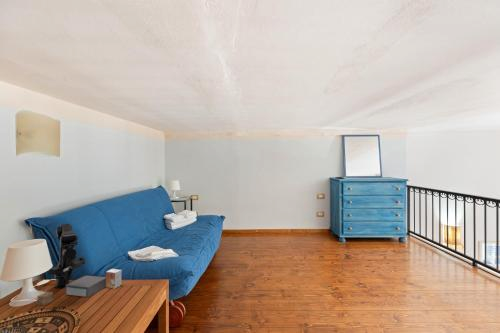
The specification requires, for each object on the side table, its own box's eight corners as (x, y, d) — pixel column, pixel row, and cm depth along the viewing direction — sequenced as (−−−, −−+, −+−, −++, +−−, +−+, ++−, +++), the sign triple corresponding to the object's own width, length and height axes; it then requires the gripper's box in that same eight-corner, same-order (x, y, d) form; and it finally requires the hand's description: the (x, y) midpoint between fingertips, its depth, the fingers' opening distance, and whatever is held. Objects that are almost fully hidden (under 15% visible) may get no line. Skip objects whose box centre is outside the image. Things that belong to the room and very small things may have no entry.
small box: (105, 287, 160) (105, 271, 160) (112, 283, 165) (112, 268, 165) (114, 288, 157) (115, 272, 158) (121, 285, 163) (121, 269, 163)
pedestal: (37, 304, 138) (37, 295, 138) (45, 300, 143) (46, 291, 143) (44, 305, 137) (44, 296, 137) (52, 301, 142) (52, 292, 142)
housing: (65, 294, 150) (65, 284, 150) (85, 284, 164) (85, 275, 164) (88, 297, 147) (88, 287, 147) (106, 286, 161) (106, 277, 161)
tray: (66, 294, 149) (66, 287, 149) (85, 284, 163) (85, 278, 163) (85, 296, 146) (85, 289, 147) (103, 286, 160) (103, 279, 160)
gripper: (64, 260, 132) (63, 289, 132) (92, 250, 151) (91, 275, 150) (47, 259, 135) (47, 287, 134) (77, 249, 153) (77, 274, 152)
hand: (67, 280), depth 142 cm, fingers closed
